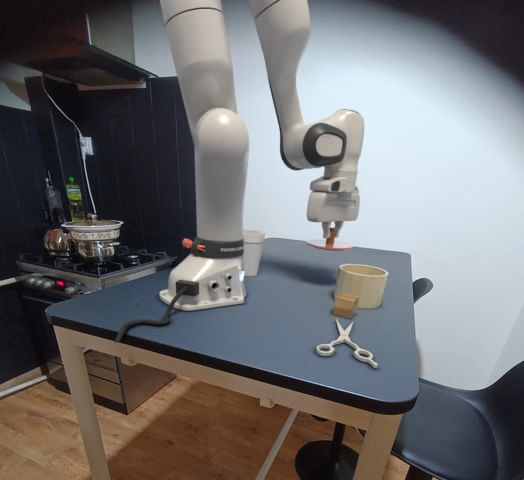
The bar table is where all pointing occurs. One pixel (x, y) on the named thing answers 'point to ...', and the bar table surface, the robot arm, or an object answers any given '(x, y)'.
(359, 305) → the pot
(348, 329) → the scissors
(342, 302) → the block
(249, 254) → the foam cup
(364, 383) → the bar table surface
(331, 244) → the lid
